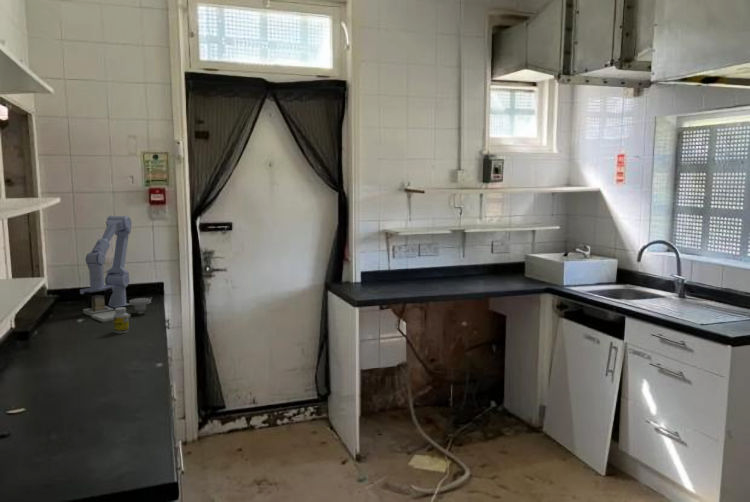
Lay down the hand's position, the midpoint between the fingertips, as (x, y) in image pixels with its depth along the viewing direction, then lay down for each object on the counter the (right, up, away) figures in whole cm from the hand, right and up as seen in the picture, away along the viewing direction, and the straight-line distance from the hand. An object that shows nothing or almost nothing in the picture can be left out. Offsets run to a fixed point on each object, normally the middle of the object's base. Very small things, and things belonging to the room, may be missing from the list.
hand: (98, 306), depth 262 cm
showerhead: (+20, -3, 0) cm, 20 cm away
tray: (+10, -4, -9) cm, 14 cm away
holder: (0, -3, 0) cm, 3 cm away
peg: (0, -3, 0) cm, 3 cm away
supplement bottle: (+25, -7, -31) cm, 41 cm away
